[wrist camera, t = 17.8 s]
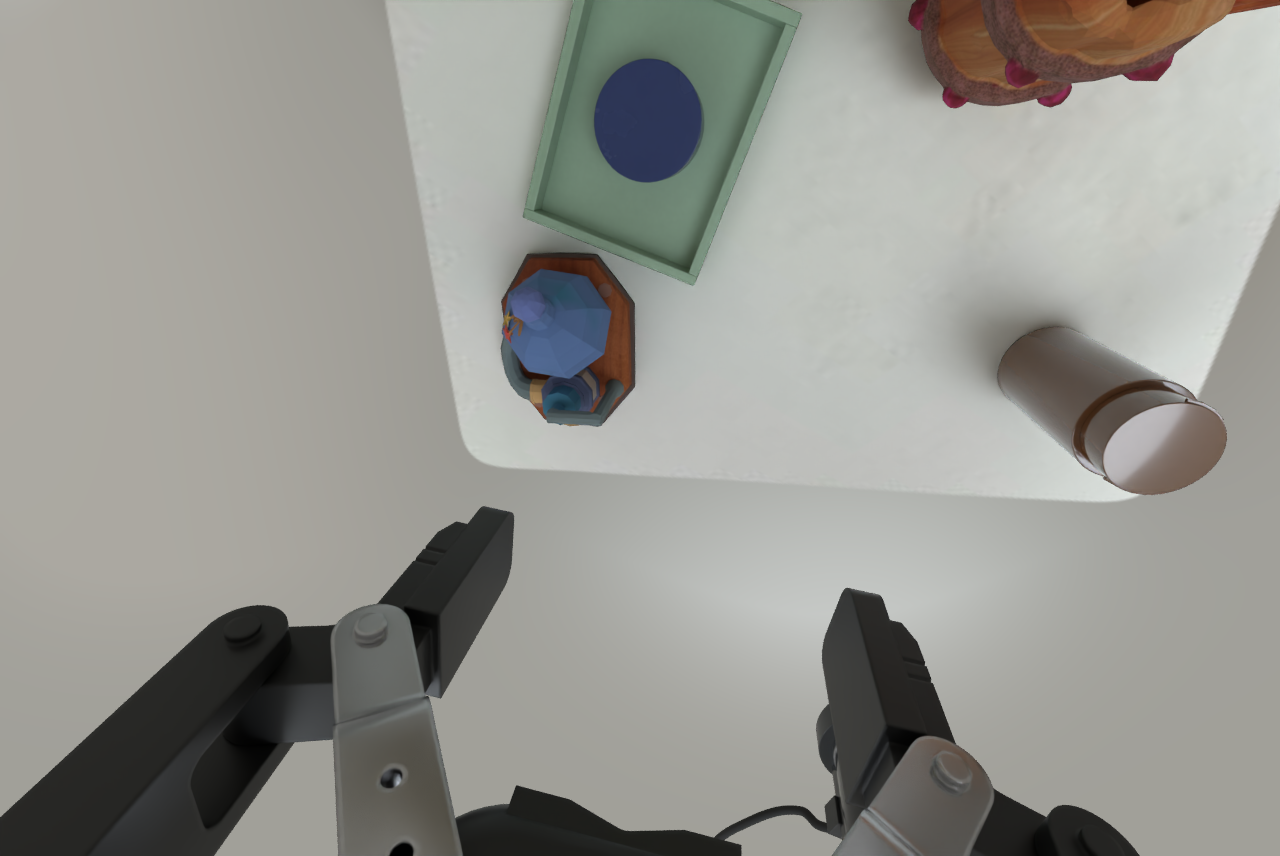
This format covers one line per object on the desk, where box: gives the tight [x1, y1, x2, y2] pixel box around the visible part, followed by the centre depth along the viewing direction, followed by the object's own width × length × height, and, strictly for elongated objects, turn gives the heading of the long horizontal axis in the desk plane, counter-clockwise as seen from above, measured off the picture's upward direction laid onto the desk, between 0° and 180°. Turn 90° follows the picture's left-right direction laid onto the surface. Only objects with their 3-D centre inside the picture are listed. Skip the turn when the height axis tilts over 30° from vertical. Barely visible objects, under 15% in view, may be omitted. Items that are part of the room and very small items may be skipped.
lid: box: [594, 59, 704, 183], centre depth 31 cm, size 6×6×2 cm
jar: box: [998, 327, 1227, 495], centre depth 29 cm, size 5×5×11 cm
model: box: [501, 253, 635, 427], centre depth 35 cm, size 12×9×9 cm
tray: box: [523, 0, 802, 285], centre depth 31 cm, size 14×11×2 cm
